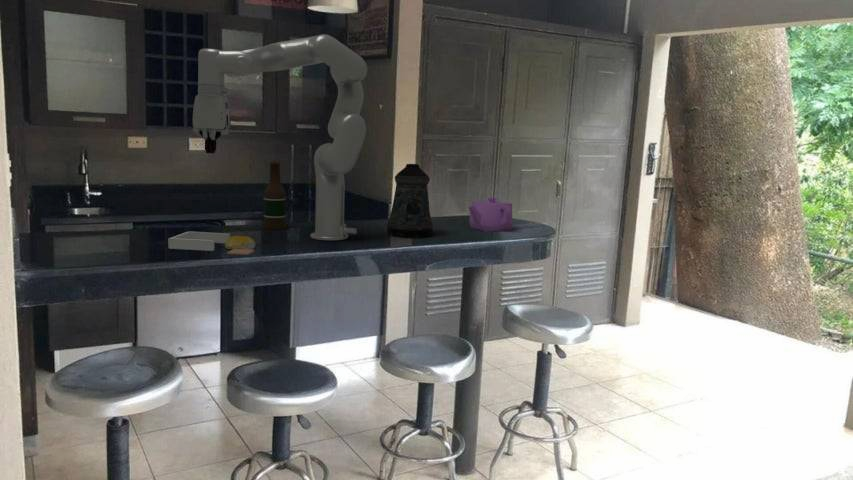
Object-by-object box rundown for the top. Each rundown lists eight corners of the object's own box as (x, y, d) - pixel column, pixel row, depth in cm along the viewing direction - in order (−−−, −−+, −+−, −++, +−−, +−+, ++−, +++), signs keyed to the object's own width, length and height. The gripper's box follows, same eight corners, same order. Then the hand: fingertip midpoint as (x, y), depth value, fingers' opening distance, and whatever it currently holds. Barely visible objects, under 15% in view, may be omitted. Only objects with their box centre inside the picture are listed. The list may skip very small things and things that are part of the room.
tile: (254, 251, 207) (254, 249, 207) (247, 255, 201) (247, 253, 201) (234, 250, 208) (234, 248, 208) (227, 254, 202) (227, 252, 202)
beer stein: (395, 239, 239) (397, 165, 235) (378, 230, 257) (379, 162, 253) (439, 237, 245) (442, 166, 241) (420, 229, 263) (422, 162, 259)
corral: (230, 243, 219) (229, 233, 219) (213, 250, 206) (213, 240, 205) (188, 240, 220) (187, 231, 220) (168, 248, 207) (168, 238, 206)
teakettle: (511, 233, 263) (512, 200, 261) (466, 230, 266) (467, 198, 264) (513, 227, 280) (515, 196, 278) (470, 224, 282) (472, 193, 280)
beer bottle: (290, 228, 253) (290, 161, 249) (274, 231, 246) (274, 162, 242) (274, 226, 257) (274, 160, 253) (258, 228, 250) (258, 161, 246)
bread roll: (239, 245, 218) (239, 232, 217) (259, 248, 213) (259, 235, 213) (218, 248, 211) (218, 235, 210) (239, 252, 206) (238, 238, 206)
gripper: (239, 93, 213) (238, 154, 216) (191, 90, 214) (191, 151, 217) (231, 92, 206) (230, 155, 208) (181, 89, 206) (181, 151, 209)
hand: (210, 153), depth 212 cm, fingers closed
